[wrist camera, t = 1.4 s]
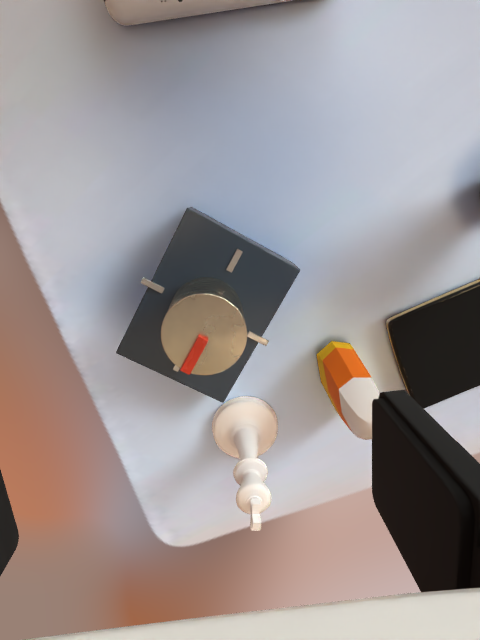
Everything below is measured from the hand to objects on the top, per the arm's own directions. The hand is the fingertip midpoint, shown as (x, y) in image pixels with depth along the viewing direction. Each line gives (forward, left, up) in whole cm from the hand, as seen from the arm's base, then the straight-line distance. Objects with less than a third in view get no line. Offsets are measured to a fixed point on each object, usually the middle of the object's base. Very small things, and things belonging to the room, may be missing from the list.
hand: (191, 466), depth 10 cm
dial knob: (0, 0, -16) cm, 16 cm away
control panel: (0, 0, -19) cm, 19 cm away
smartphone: (+4, +20, -19) cm, 28 cm away
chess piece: (+10, +2, -19) cm, 22 cm away
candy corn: (+7, +9, -19) cm, 22 cm away
